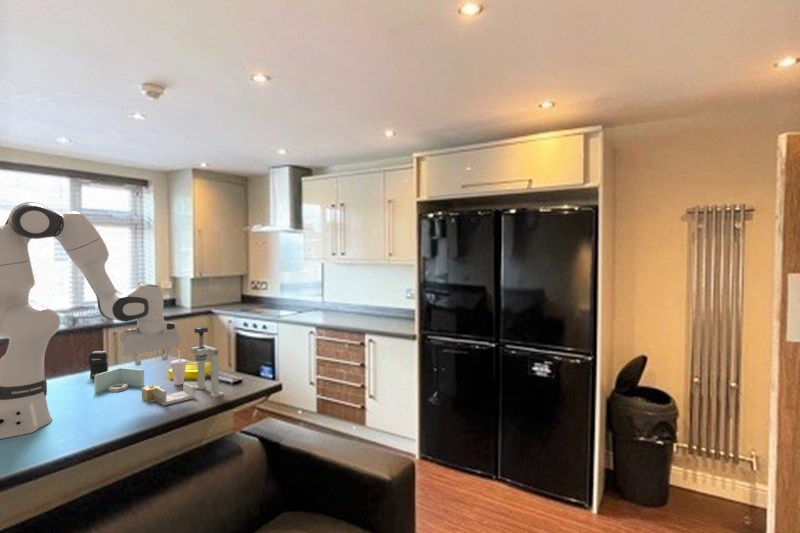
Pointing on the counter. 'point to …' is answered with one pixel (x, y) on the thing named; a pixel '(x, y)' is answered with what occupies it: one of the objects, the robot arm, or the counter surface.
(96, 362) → the black backpack
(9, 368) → the robot arm
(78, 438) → the counter surface
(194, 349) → the press frame
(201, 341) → the ram
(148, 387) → the tan wooden cube
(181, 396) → the bed
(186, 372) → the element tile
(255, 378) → the counter surface
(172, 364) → the smoothie
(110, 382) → the l-shaped corner panel
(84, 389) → the counter surface
